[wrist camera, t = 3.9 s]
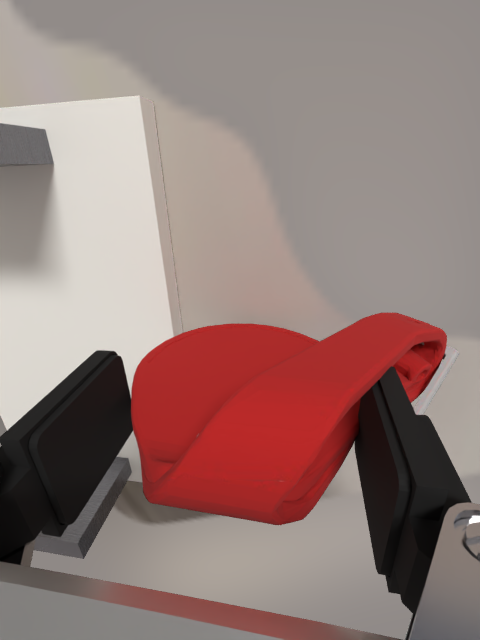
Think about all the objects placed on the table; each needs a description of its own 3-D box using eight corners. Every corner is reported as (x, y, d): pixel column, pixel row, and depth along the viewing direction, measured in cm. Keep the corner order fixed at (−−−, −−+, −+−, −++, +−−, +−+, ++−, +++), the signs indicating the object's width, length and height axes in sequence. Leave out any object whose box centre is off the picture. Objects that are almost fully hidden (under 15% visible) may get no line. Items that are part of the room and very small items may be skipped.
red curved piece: (182, 346, 17) (52, 540, 8) (177, 263, 15) (1, 400, 6) (430, 374, 15) (602, 660, 7) (460, 285, 14) (760, 517, 5)
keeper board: (153, 101, 13) (35, 51, 7) (200, 472, 21) (164, 582, 15) (-100, 123, 15) (-342, 97, 9) (36, 453, 23) (-48, 543, 18)
